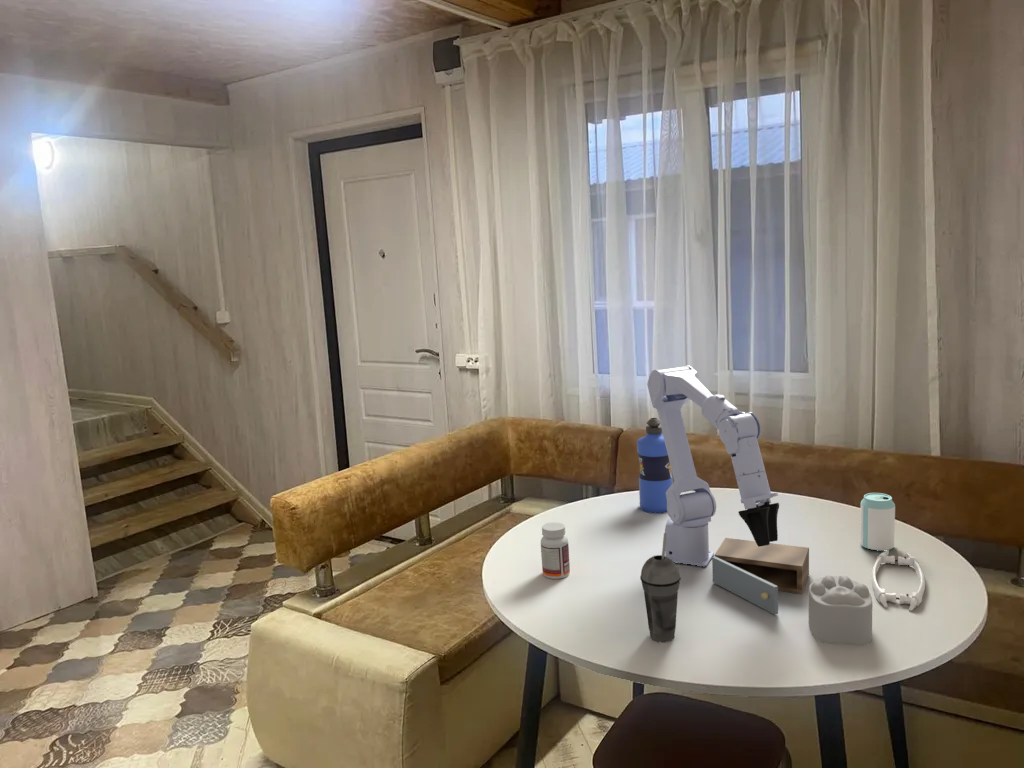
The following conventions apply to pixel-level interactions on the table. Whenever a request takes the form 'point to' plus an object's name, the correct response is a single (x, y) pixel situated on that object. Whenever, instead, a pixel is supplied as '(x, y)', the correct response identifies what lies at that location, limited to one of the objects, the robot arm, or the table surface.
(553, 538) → the pill bottle
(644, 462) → the water bottle
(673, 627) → the beverage cup
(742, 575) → the cabinet door
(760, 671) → the table surface
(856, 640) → the grey paw shaped block
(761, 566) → the walnut cabinet
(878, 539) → the can
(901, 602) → the white oval frame
